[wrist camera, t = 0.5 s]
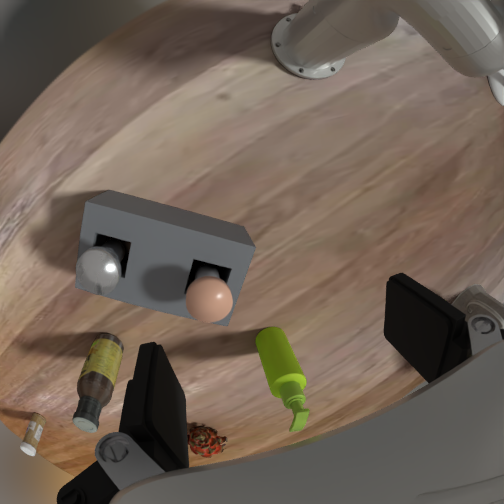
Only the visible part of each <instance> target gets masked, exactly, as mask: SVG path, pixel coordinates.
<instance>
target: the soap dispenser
mask: <svg viewBox="0 0 504 504" xmlns="http://www.w3.org/2000/svg"><path fill="white" fill-rule="evenodd" d="M255 342H256V346H257V349H258V353H259V356H260V359H261V362H262V365H263V368H264V372H265V375H266V378H267V381H268V384H269V387H270V390H271V393H272V395H274V396H275V397H277V398H282V401H283V403H284V406H285V407H286V408H288V409H292V411H293V414H294V419H293V422H292V425H291V427H290V429H289V431H290V432H293V431H300V430H302V429H303V427H304V426H305V424H306V421H307V418H308V415H309V409H304V408H303V404H304V402H305V400H306V398H305V395H304V393H303V391H302V390H303V389H304V388H305V386H306V382H307V381H306V378H305V376H304V374H303V372H302V369H301V367H300V365H299V363H298V361H297V359H296V357H295V354H294V352H293V350H292V348H291V346H290V344H289V342H288V340H287V337H286V335H285V333H284V331H283V330H282V329H280V328H277V327H268V328H265V329H263V330H262V331H260V332H259V333H258V335H257V337H256V340H255Z"/></svg>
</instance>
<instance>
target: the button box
mask: <svg viewBox="0 0 504 504" xmlns="http://www.w3.org/2000/svg"><path fill="white" fill-rule="evenodd" d="M106 236H110V237H114V238H117V239H121V240H124V241H128V242H131V247H130V252H129V257H128V263H124V262H120V265H121V277H120V279H119V281H118V283H117V285H116V287H115V288H114V289H113V290H112V291H111V292H110V293H108V294H105V295H101V296H105V297H108V298H112V299H115V300H119V301H122V302H126V303H129V304H133V305H137V306H141V307H145V308H148V309H152V310H156V311H160V312H164V313H169V314H173V315H177V316H181V317H186V318H190V319H195V318H194V317H192V316H191V315H190V313H189V312H188V310H187V307H186V293H187V289H188V287H189V286H190V284H191V283H192V282H193V281H192V280H188V277H189V273H190V269H191V266H192V262H193V259H196V260H200V261H204V262H207V263H211V264H215V265H219V266H223V267H224V269H223V272H222V275H221V278H220V279H222V280H223V281H224V282H226V283H227V285H228V286H229V288H230V291H231V295H232V299H233V305H232V308H231V311H230V312H229V314H228V315H227V316H226V317H225V318H223V319H221V320H219V321H216V322H211V323H213V324H218V325H223V326H228V324H229V321H230V318H231V316H232V313H233V310H234V307H235V304H236V302H237V299H238V296H239V293H240V290H241V288H242V285H243V282H244V279H245V276H246V274H247V271H248V268H249V265H250V262H251V260H252V257H253V254H254V251H255V248H256V247H255V245H254V243H253V241H252V240H251V238H250V236H249V234H248V233H247V231H246V229H245V228H244V226H240V225H237V224H233V223H230V222H226V221H223V220H219V219H216V218H212V217H208V216H205V215H201V214H198V213H194V212H191V211H187V210H183V209H180V208H176V207H172V206H169V205H165V204H161V203H158V202H154V201H150V200H146V199H143V198H139V197H135V196H131V195H127V194H124V193H120V192H116V191H112V190H108V191H106V192H104V193H101V194H99V195H97V196H95V197H93V198H91V199H89V200H87V201H86V202H85V208H84V214H83V220H82V226H81V234H80V241H79V250H78V259H79V258H80V256H81V255H82V254H83V253H84V252H85V251H86V250H88V249H89V248H92V247H96V246H100V247H101V246H102V245H103V244H104V243H105V239H106ZM78 259H77V261H78ZM75 288H78V289H82V290H85V291H87V290H86V289H85V288H84V287H83V286H82V285H81V284H80V282H79V280H78V278H77V275H76V284H75ZM88 292H89V291H88ZM195 320H197V319H195Z"/></svg>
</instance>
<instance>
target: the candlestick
mask: <svg viewBox="0 0 504 504" xmlns="http://www.w3.org/2000/svg"><path fill="white" fill-rule="evenodd" d="M488 80H489V84H490V87H491V90H492V93H493V95H494V97H495V98H496V100H497V101H498V102H499V103H500V104H501V105H503V106H504V70H503V69H502V70H500V71H498V72H496V73H493V74H491V75H488Z"/></svg>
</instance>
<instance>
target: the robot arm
mask: <svg viewBox="0 0 504 504" xmlns="http://www.w3.org/2000/svg"><path fill="white" fill-rule="evenodd" d="M399 16H400V17H401V18H403V19H404V20H405V21H406V22H407V23H408V24H409V25H411V26H412V27H413V28H414V29H415V30H416V31H417V32H418V33H419V34H420V35H421V36H422V37H423V38H424V39H425V40H426V41H427V42H428V43H429V44H430V45H431V46H432V47H433V48H434V49H435V50H436V51H437V52H438V53H439V54H440V55H441V56H442V57H443V59H444V60H445V61H446V62H447V63H448V64H449V65H450V66H451V67H452V68H453V69H455V70H456V71H457V72H459V73H461V74H462V75H465V76H468V77H475V78H476V77H484V76H488V75H491V74H493V73H496V72H498V71H500V70H502V69H503V68H504V0H491V1H490V0H309V1H308V2H307V3H306V4H305V5H304V7H303V8H302V9H301V10H300V11H299V13H295V14H291V15H288V16H286V17H284V18H282V19H281V20H280V21H279V22H278V23H277V24H276V26H275V27H274V29H273V32H272V35H271V46H272V49H273V52H274V54H275V56H276V58H277V59H278V61H279V62H280V63H281V64H282V65H283V66H284V67H285V68H286V69H287V70H289V71H290V72H292V73H293V74H295V75H297V76H299V77H303V78H306V79H313V80H317V79H324V78H328V77H330V76H332V75H334V74H336V73H337V72H338V71H339V70H340V69H341V68H342V66H343V64H344V62H345V59H346V57H348V56H350V55H352V54H353V53H355V52H357V51H359V50H361V49H363V48H366V47H368V46H370V45H372V44H374V43H376V42H378V41H380V40H382V39H384V38H386V37H387V36H389V35H390V34H391V33H392V32H393V31H394V30H395V28H396V26H397V24H398V21H399ZM287 21H288V22H287ZM276 45H277V46H278V47H276ZM330 69H331V70H332V71H331V70H330ZM299 71H301V73H300V72H299ZM465 318H466V314H464V313H463V312H461V311H460V310H459V309H457V308H456V307H454V306H453V305H451V304H450V303H448V302H447V301H445V300H444V299H442V298H441V297H439V296H438V295H436V294H435V293H433V292H432V291H430V290H429V289H427V288H426V287H424V286H423V285H421V284H420V283H418V282H417V281H415V280H413V279H412V278H410V277H409V276H407V275H406V274H404V273H399V274H396V275H393V276H391V277H390V278H389V281H387V284H386V305H385V321H384V336H385V338H386V339H387V340H388V341H389V342H390V343H391V344H392V345H393V347H394V348H395V349H396V350H397V351H398V352H399V353H400V354H401V355H402V356H403V357H404V358H405V359H406V360H407V361H408V362H409V363H410V364H411V365H412V366H413V367H414V368H415V369H416V370H417V371H418V372H419V373H420V375H421V376H422V377H423V378H424V379H425V380H426V381H427V382H428V383H429V384H428V385H426V386H424V387H422V388H421V389H419V390H417V391H415V392H413V393H412V394H410V395H408V396H406V397H404V398H402V399H400V400H399V401H397V402H395V403H393V404H391V405H389V406H387V407H385V408H383V409H381V410H378V411H376V412H374V413H372V414H370V415H368V416H365V417H363V418H361V419H359V420H356V421H354V422H352V423H349V424H347V425H344V426H342V427H339V428H337V429H334V430H332V431H329V432H326V433H324V434H321V435H318V436H315V437H312V438H309V439H306V440H303V441H300V442H297V443H294V444H291V445H288V446H284V447H281V448H277V449H274V450H270V451H266V452H262V453H258V454H254V455H250V456H246V457H242V458H237V459H233V460H228V461H223V462H218V463H212V464H207V465H201V466H196V467H190V468H189V457H188V441H187V421H186V398H185V394H184V391H183V389H182V387H181V385H180V383H179V381H178V379H177V377H176V375H175V373H174V371H173V369H172V367H171V365H170V363H169V360H168V358H167V356H166V354H165V352H164V349H163V347H162V346H161V345H157V344H156V343H155V342H150V343H145V344H141V345H140V348H139V352H138V357H137V362H136V366H135V371H134V376H133V379H132V380H129V381H128V384H127V388H126V393H125V398H124V404H123V409H122V415H121V420H120V426H119V432H113V433H109V434H107V435H105V436H104V437H103V438H101V439H100V440H99V442H98V443H97V445H96V448H95V456H96V459H97V461H96V462H94V463H93V464H92V465H91V466H89V467H88V468H87V469H85V470H84V471H83V472H81V473H80V474H79V475H78V476H76V477H75V478H74V479H72V480H71V481H70V482H68V483H67V484H66V485H64V486H63V487H62V488H61V489H60V490H59V492H58V495H57V504H504V329H499V325H498V323H497V321H496V320H495V319H493V318H492V317H490V316H487V315H482V314H480V315H475V316H472V317H471V318H470V319H469V321H468V322H466V321H465Z"/></svg>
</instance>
